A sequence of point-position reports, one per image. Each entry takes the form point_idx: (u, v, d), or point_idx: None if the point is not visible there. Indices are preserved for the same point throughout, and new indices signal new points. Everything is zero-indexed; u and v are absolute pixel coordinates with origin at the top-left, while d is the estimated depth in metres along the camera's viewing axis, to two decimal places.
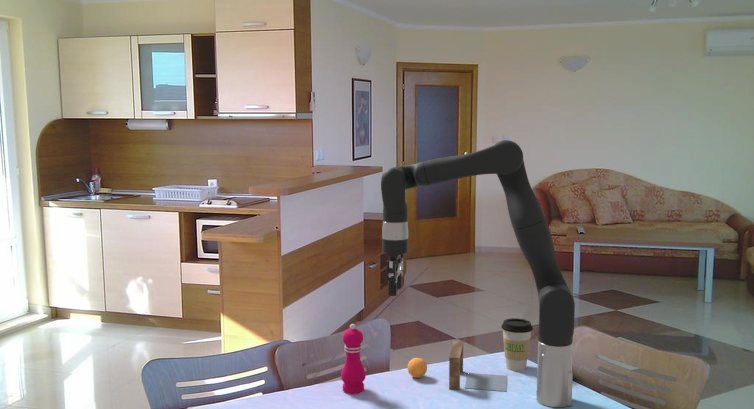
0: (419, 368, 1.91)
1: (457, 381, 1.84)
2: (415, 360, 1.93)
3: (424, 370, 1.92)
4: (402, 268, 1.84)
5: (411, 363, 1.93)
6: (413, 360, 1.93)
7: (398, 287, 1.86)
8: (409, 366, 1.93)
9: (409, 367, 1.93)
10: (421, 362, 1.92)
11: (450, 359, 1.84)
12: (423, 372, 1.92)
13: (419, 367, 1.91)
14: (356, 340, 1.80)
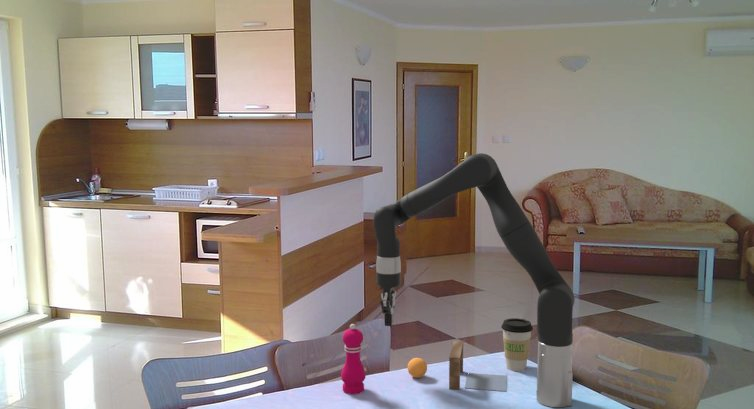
0: (419, 368, 1.91)
1: (457, 381, 1.84)
2: (415, 360, 1.93)
3: (424, 370, 1.92)
4: (394, 301, 1.94)
5: (411, 363, 1.93)
6: (413, 360, 1.93)
7: None
8: (409, 366, 1.93)
9: (409, 367, 1.93)
10: (421, 362, 1.92)
11: (450, 359, 1.84)
12: (423, 372, 1.92)
13: (419, 367, 1.91)
14: (356, 340, 1.80)
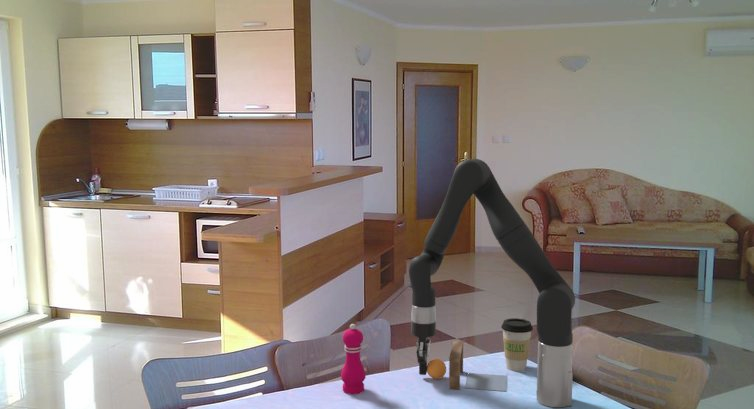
0: (438, 375, 1.90)
1: (457, 381, 1.84)
2: (445, 369, 1.91)
3: (435, 378, 1.92)
4: None
5: (442, 366, 1.91)
6: (444, 367, 1.92)
7: None
8: (439, 364, 1.91)
9: (438, 364, 1.91)
10: (443, 375, 1.92)
11: (450, 359, 1.84)
12: (433, 377, 1.92)
13: (439, 375, 1.91)
14: (356, 340, 1.80)
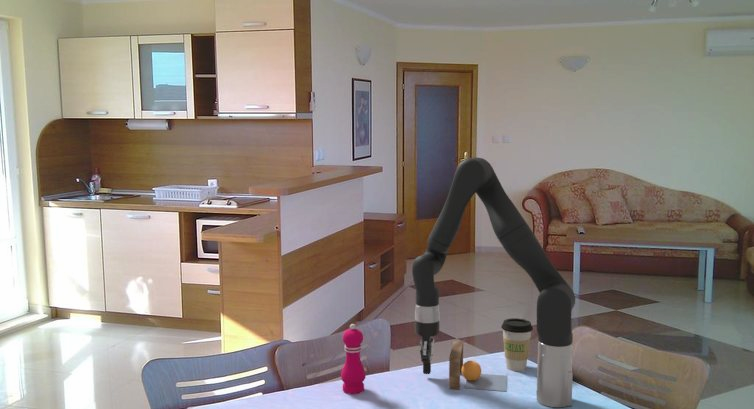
0: (470, 370, 1.89)
1: (457, 381, 1.84)
2: (462, 369, 1.91)
3: (475, 366, 1.89)
4: (432, 349, 1.93)
5: (463, 374, 1.90)
6: (462, 371, 1.91)
7: None
8: (465, 377, 1.90)
9: (466, 378, 1.90)
10: (466, 364, 1.90)
11: (450, 359, 1.84)
12: (476, 368, 1.89)
13: (469, 369, 1.89)
14: (356, 340, 1.80)
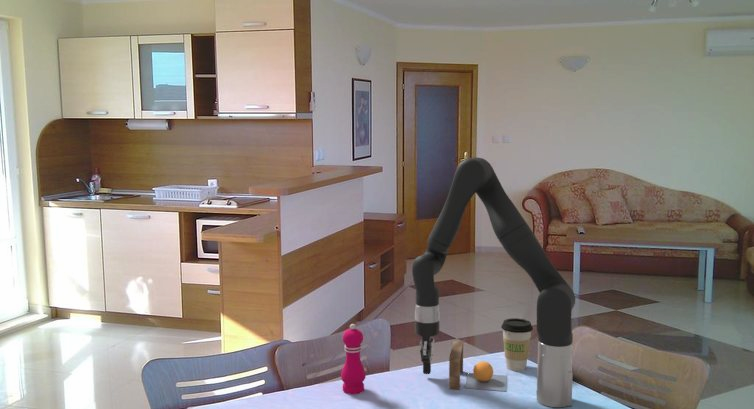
0: (486, 372, 1.88)
1: (457, 381, 1.84)
2: (482, 364, 1.89)
3: (491, 374, 1.89)
4: (432, 349, 1.93)
5: (478, 367, 1.89)
6: (480, 364, 1.90)
7: None
8: (476, 370, 1.89)
9: (476, 371, 1.89)
10: (488, 366, 1.89)
11: (450, 359, 1.84)
12: (490, 376, 1.89)
13: (487, 371, 1.88)
14: (356, 340, 1.80)
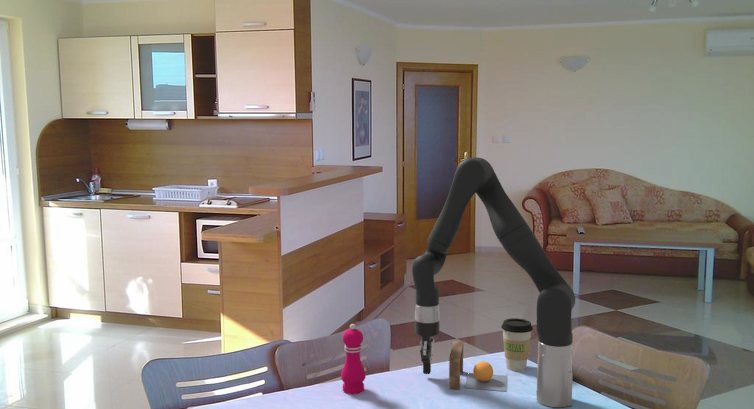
0: (486, 372, 1.88)
1: (457, 381, 1.84)
2: (482, 364, 1.89)
3: (491, 374, 1.89)
4: (432, 349, 1.93)
5: (478, 367, 1.89)
6: (480, 364, 1.90)
7: None
8: (476, 370, 1.89)
9: (476, 371, 1.89)
10: (488, 366, 1.89)
11: (450, 359, 1.84)
12: (490, 376, 1.89)
13: (487, 371, 1.88)
14: (356, 340, 1.80)
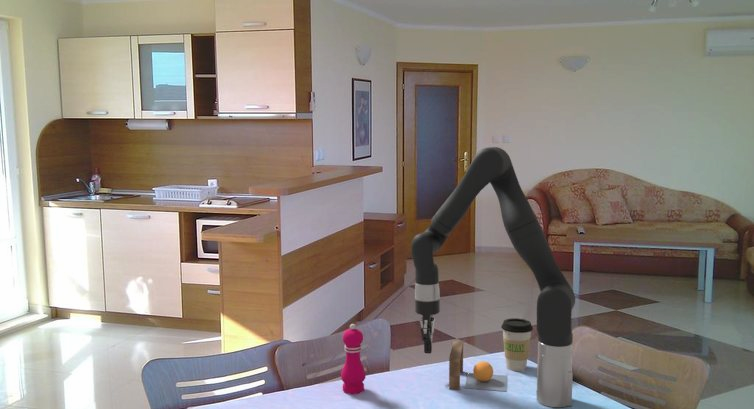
0: (486, 372, 1.88)
1: (457, 381, 1.84)
2: (482, 364, 1.89)
3: (491, 374, 1.89)
4: (433, 328, 1.92)
5: (478, 367, 1.89)
6: (480, 364, 1.90)
7: None
8: (476, 370, 1.89)
9: (476, 371, 1.89)
10: (488, 366, 1.89)
11: (450, 359, 1.84)
12: (490, 376, 1.89)
13: (487, 371, 1.88)
14: (356, 340, 1.80)
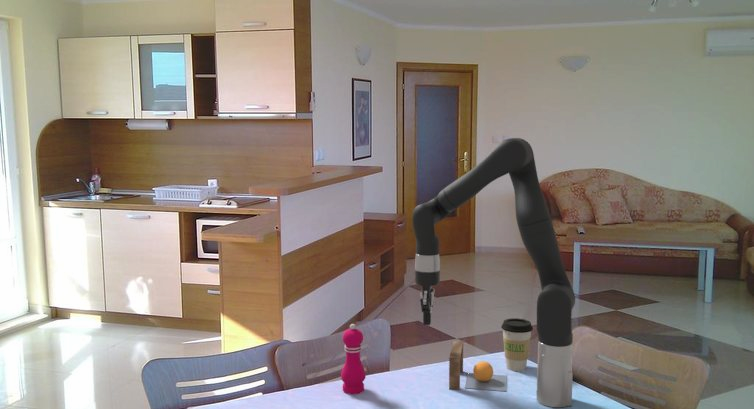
0: (486, 372, 1.88)
1: (457, 381, 1.84)
2: (482, 364, 1.89)
3: (491, 374, 1.89)
4: None
5: (478, 367, 1.89)
6: (480, 364, 1.90)
7: None
8: (476, 370, 1.89)
9: (476, 371, 1.89)
10: (488, 366, 1.89)
11: (450, 359, 1.84)
12: (490, 376, 1.89)
13: (487, 371, 1.88)
14: (356, 340, 1.80)
